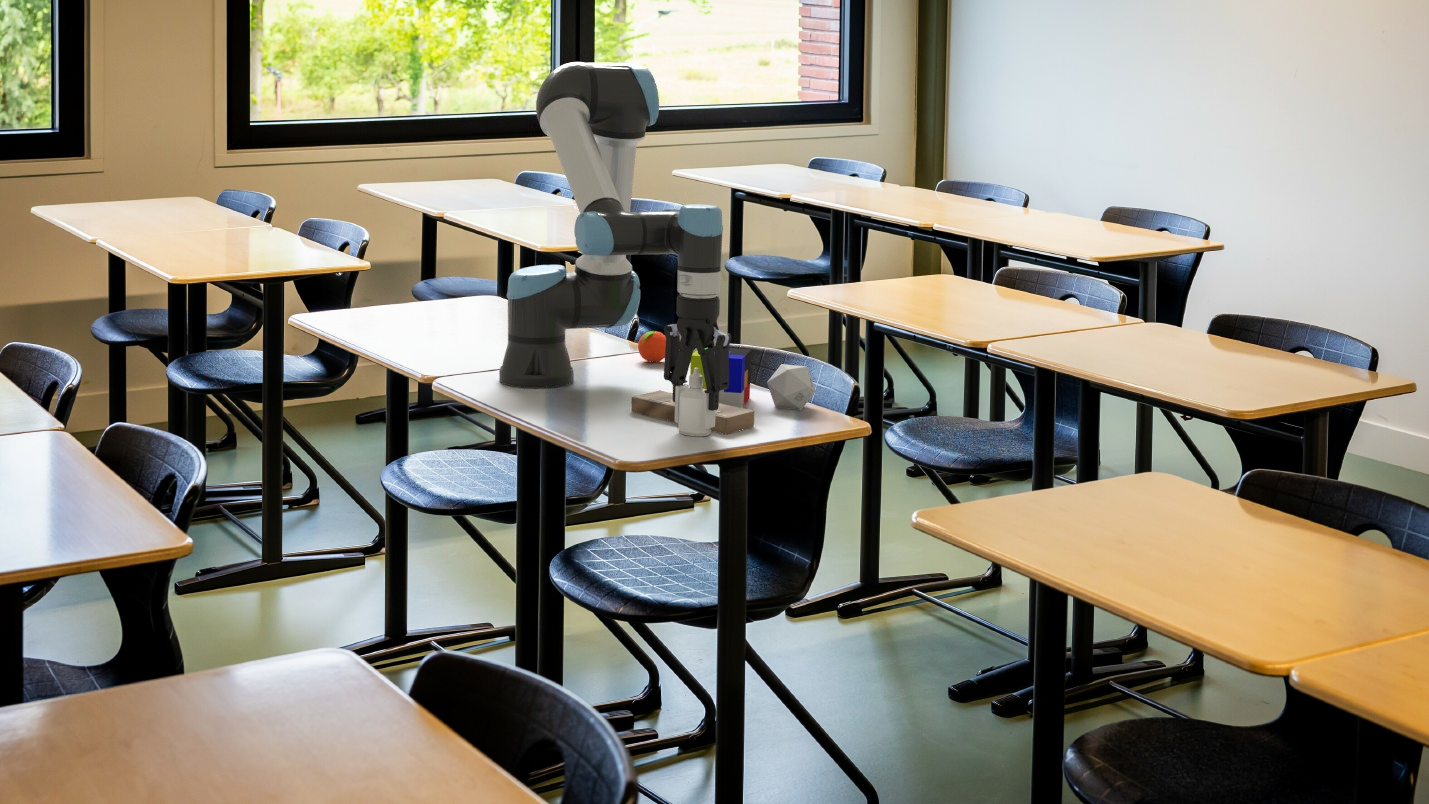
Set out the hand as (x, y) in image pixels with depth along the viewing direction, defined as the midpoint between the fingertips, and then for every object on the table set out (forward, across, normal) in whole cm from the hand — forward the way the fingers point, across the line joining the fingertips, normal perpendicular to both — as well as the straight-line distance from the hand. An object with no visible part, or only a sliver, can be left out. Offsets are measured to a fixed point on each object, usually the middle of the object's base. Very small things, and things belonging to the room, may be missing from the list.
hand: (694, 424), depth 250 cm
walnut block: (+2, -8, +8) cm, 11 cm away
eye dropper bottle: (+2, 0, 0) cm, 2 cm away
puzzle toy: (+2, -13, +23) cm, 27 cm away
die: (+2, -1, +30) cm, 30 cm away
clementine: (+2, -48, +42) cm, 64 cm away
